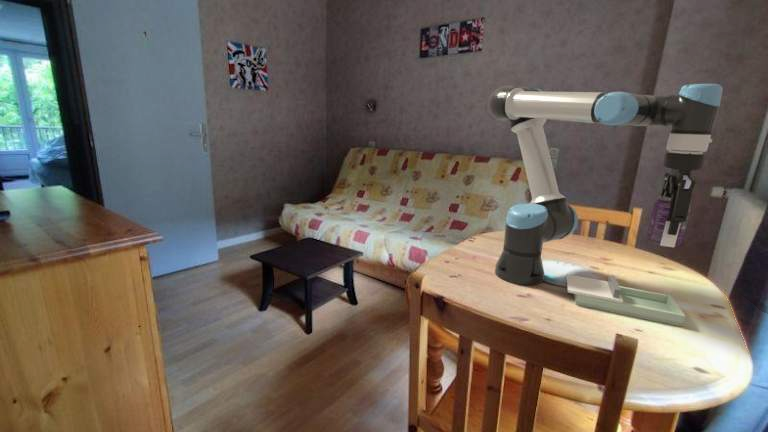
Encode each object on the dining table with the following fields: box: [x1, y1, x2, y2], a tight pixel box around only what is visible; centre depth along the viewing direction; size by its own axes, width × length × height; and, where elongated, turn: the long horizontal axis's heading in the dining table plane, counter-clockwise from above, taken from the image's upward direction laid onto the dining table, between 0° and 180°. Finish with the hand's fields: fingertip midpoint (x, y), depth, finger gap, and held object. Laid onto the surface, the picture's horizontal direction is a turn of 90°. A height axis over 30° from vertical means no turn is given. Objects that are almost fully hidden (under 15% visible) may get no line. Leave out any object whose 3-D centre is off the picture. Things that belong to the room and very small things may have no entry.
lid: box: [565, 273, 623, 303], centre depth 99 cm, size 13×12×3 cm
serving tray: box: [573, 285, 686, 328], centre depth 96 cm, size 24×12×3 cm, turn 65°
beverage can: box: [646, 195, 692, 248], centre depth 88 cm, size 7×7×12 cm
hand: (662, 241), depth 89 cm, fingers closed on beverage can, 7 cm apart
